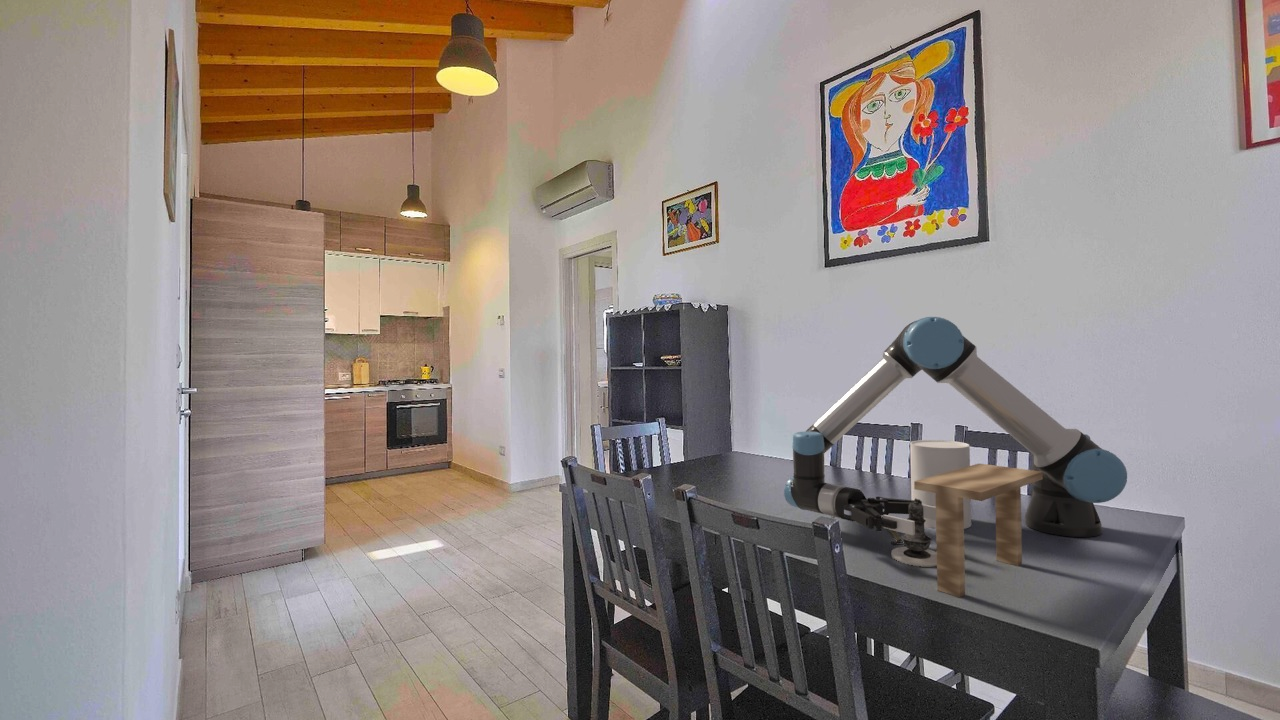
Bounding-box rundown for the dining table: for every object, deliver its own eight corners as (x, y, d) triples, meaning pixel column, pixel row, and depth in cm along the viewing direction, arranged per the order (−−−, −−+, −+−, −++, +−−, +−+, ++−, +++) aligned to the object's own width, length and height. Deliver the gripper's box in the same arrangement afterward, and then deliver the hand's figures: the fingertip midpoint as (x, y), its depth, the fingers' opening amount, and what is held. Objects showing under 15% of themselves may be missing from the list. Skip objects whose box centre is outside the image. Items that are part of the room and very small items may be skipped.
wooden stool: (916, 583, 111) (914, 481, 111) (980, 553, 127) (978, 463, 127) (983, 604, 102) (981, 492, 102) (1044, 569, 117) (1042, 471, 117)
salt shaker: (896, 550, 128) (895, 495, 127) (922, 549, 128) (921, 494, 128) (911, 560, 122) (910, 502, 122) (938, 558, 122) (937, 501, 122)
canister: (917, 528, 146) (915, 447, 146) (907, 513, 159) (906, 439, 159) (977, 531, 142) (976, 448, 142) (963, 515, 155) (961, 440, 155)
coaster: (931, 550, 129) (931, 546, 129) (952, 566, 119) (952, 563, 119) (884, 550, 130) (884, 546, 130) (901, 566, 120) (901, 563, 120)
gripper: (873, 509, 147) (961, 528, 129) (809, 528, 132) (898, 553, 115) (872, 479, 147) (960, 494, 129) (808, 495, 132) (897, 514, 115)
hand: (931, 521), depth 122 cm, fingers open, 13 cm apart
